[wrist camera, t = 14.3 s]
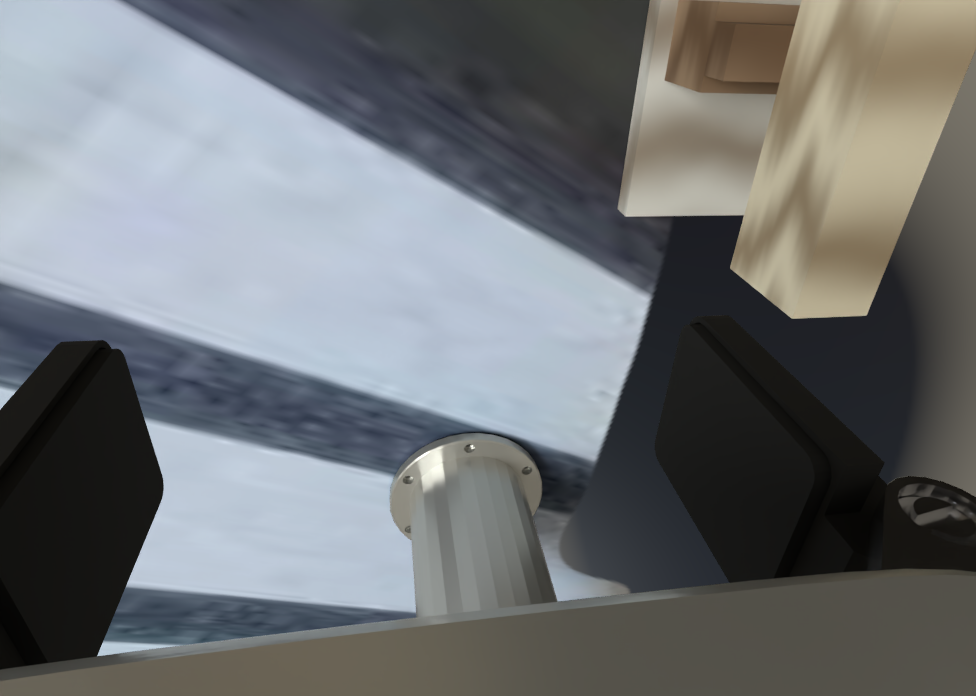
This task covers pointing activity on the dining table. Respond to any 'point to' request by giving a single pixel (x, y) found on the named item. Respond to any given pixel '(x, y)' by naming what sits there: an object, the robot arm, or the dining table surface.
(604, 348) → the dining table surface
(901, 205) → the beige wooden bar
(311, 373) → the dining table surface
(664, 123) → the stand
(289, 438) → the dining table surface
